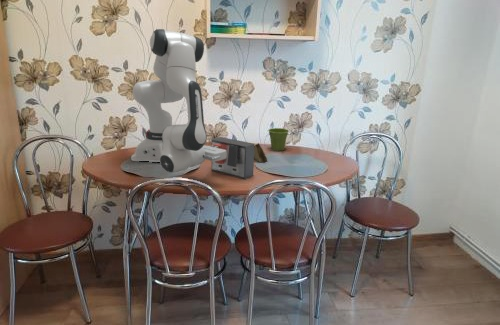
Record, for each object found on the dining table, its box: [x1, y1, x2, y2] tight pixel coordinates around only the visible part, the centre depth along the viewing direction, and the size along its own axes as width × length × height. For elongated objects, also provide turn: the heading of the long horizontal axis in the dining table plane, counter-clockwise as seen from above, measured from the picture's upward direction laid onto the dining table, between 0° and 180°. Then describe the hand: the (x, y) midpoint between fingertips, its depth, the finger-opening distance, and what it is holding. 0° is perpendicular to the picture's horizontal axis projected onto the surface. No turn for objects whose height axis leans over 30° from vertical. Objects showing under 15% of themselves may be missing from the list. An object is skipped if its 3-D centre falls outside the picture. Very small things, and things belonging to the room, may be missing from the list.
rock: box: [254, 142, 269, 163], centre depth 184 cm, size 11×9×10 cm
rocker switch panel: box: [211, 136, 255, 180], centre depth 161 cm, size 7×19×15 cm, turn 57°
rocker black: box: [227, 145, 239, 167], centre depth 155 cm, size 2×4×9 cm, turn 56°
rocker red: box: [213, 144, 224, 164], centre depth 159 cm, size 2×4×9 cm, turn 56°
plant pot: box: [267, 127, 290, 152], centre depth 203 cm, size 12×12×11 cm
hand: (216, 147), depth 156 cm, fingers closed
